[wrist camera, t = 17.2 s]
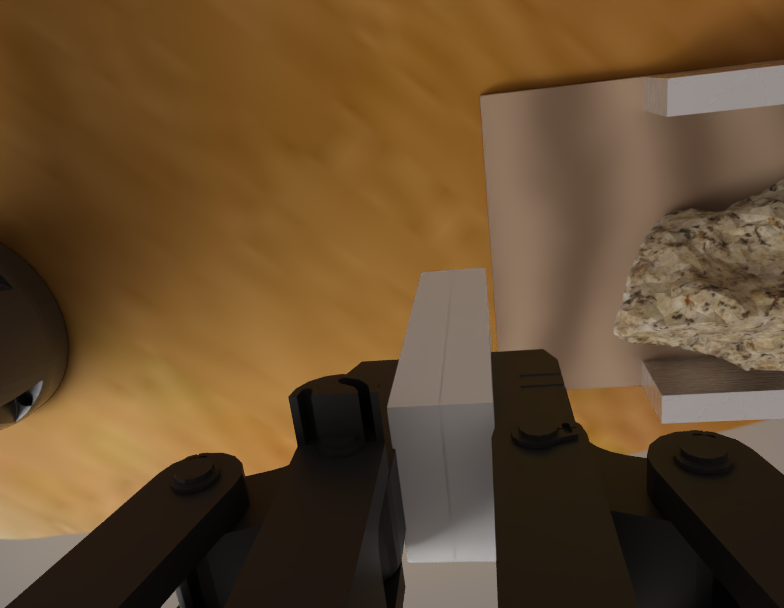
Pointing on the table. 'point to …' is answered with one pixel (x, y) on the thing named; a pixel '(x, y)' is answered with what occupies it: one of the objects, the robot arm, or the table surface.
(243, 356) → the table surface
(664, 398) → the cradle rails
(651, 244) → the rock
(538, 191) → the cradle board
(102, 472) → the table surface
